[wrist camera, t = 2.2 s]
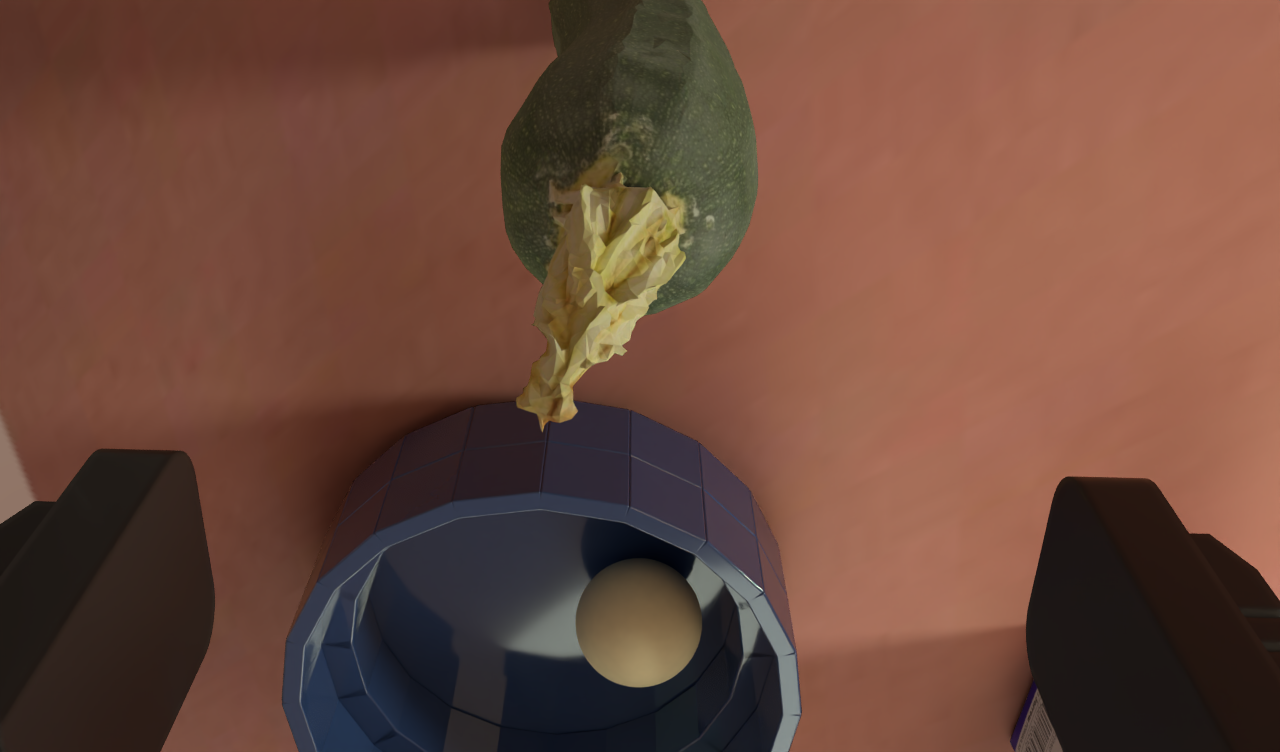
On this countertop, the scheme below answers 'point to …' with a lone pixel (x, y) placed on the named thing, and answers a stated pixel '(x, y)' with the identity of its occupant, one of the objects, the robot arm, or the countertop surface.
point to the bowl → (536, 595)
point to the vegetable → (624, 179)
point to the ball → (638, 622)
